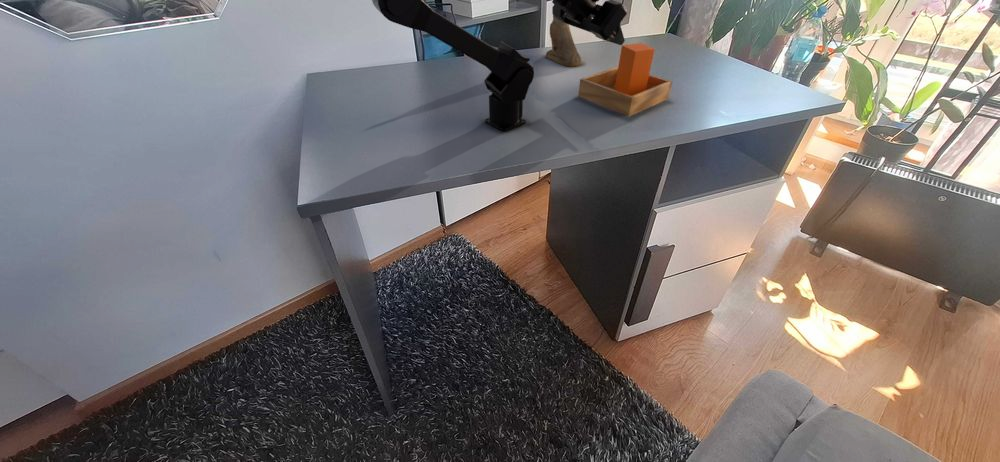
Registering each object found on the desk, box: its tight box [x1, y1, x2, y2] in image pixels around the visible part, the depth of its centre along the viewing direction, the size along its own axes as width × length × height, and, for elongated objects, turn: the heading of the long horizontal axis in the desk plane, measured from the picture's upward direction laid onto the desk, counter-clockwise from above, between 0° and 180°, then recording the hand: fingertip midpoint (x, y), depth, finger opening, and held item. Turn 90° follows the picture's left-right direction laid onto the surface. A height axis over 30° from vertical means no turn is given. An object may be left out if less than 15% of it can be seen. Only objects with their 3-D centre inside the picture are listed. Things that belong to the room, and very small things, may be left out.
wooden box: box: [578, 66, 673, 117], centre depth 95 cm, size 15×15×5 cm
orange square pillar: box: [614, 42, 656, 96], centre depth 93 cm, size 5×5×11 cm
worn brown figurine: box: [545, 14, 582, 68], centre depth 116 cm, size 12×6×18 cm, turn 28°
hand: (609, 37), depth 87 cm, fingers open, 9 cm apart
